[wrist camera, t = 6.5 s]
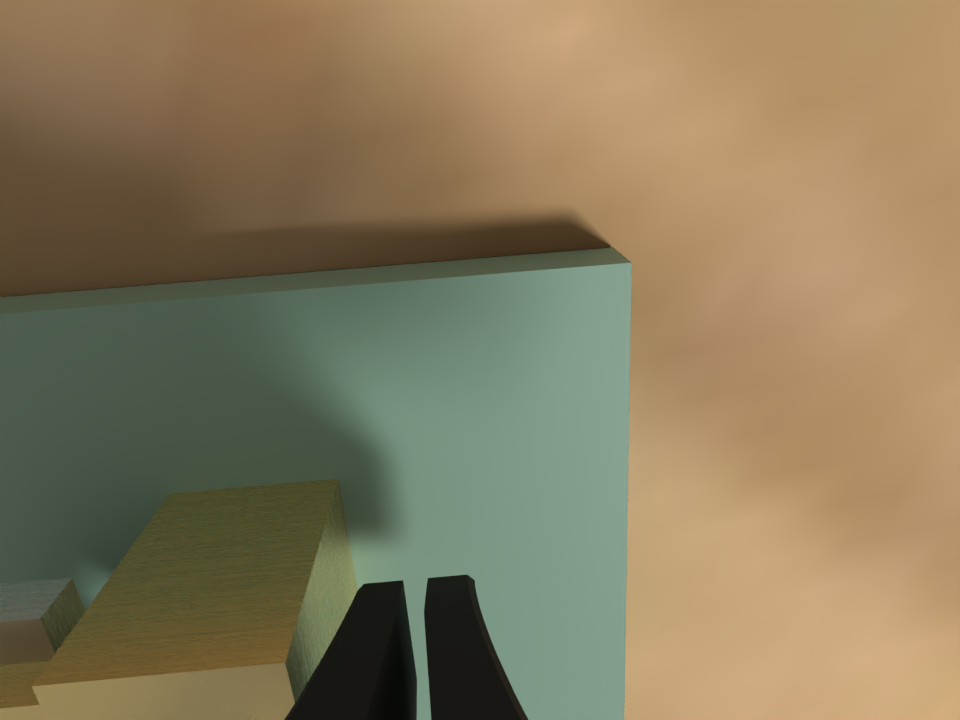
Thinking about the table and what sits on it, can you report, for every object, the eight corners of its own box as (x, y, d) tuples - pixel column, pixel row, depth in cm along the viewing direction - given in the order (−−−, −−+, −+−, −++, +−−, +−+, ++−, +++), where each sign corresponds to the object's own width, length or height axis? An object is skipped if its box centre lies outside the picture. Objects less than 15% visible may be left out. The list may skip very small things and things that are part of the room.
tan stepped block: (361, 610, 13) (324, 828, 9) (52, 638, 12) (-121, 872, 9) (338, 479, 12) (285, 663, 8) (-2, 508, 11) (-226, 710, 8)
